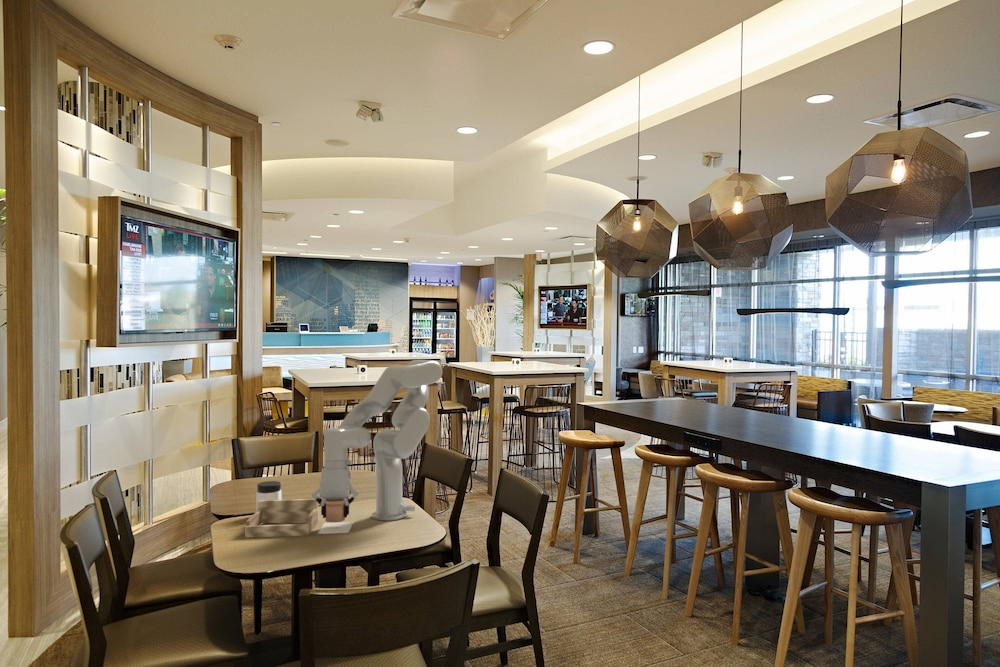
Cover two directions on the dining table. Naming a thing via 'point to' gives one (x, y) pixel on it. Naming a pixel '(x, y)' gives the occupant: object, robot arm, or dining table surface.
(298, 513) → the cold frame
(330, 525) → the tile
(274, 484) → the jar
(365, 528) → the dining table surface
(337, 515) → the pot
